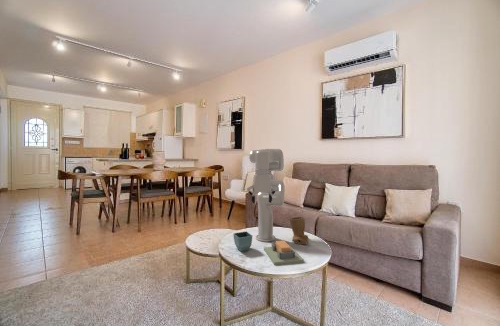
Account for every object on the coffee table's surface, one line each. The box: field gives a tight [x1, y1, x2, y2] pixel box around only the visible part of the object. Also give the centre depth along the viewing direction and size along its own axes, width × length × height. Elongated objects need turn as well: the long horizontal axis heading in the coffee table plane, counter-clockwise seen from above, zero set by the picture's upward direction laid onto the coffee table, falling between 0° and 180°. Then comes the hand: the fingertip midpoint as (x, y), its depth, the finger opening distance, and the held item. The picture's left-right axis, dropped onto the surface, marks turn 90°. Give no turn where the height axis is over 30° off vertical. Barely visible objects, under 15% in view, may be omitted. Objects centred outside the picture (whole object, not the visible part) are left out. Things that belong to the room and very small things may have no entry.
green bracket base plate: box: [263, 242, 305, 266], centre depth 138 cm, size 20×16×4 cm
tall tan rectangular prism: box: [275, 240, 291, 252], centre depth 138 cm, size 10×5×5 cm, turn 12°
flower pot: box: [233, 231, 253, 252], centre depth 147 cm, size 9×9×9 cm
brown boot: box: [289, 216, 309, 245], centre depth 161 cm, size 15×12×15 cm
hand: (261, 202), depth 143 cm, fingers open, 9 cm apart
